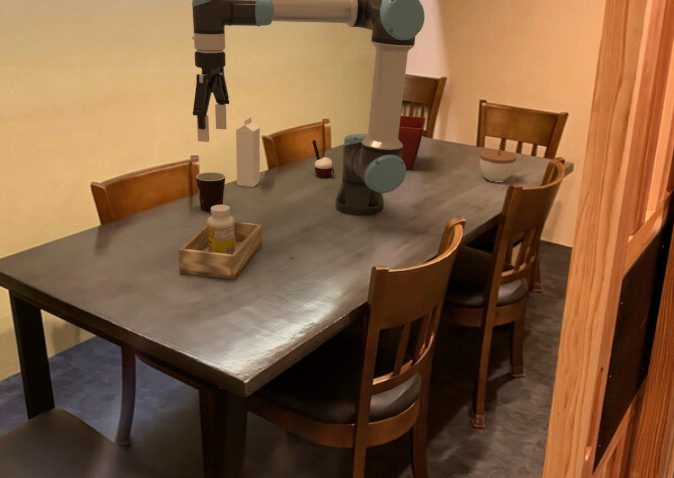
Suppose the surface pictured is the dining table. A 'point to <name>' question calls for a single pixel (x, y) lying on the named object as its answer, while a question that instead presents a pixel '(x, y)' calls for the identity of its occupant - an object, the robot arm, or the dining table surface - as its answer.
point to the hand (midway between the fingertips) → (212, 135)
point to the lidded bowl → (497, 165)
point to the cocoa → (322, 164)
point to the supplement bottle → (221, 230)
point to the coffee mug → (210, 189)
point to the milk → (248, 154)
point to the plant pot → (410, 138)
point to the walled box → (218, 264)
